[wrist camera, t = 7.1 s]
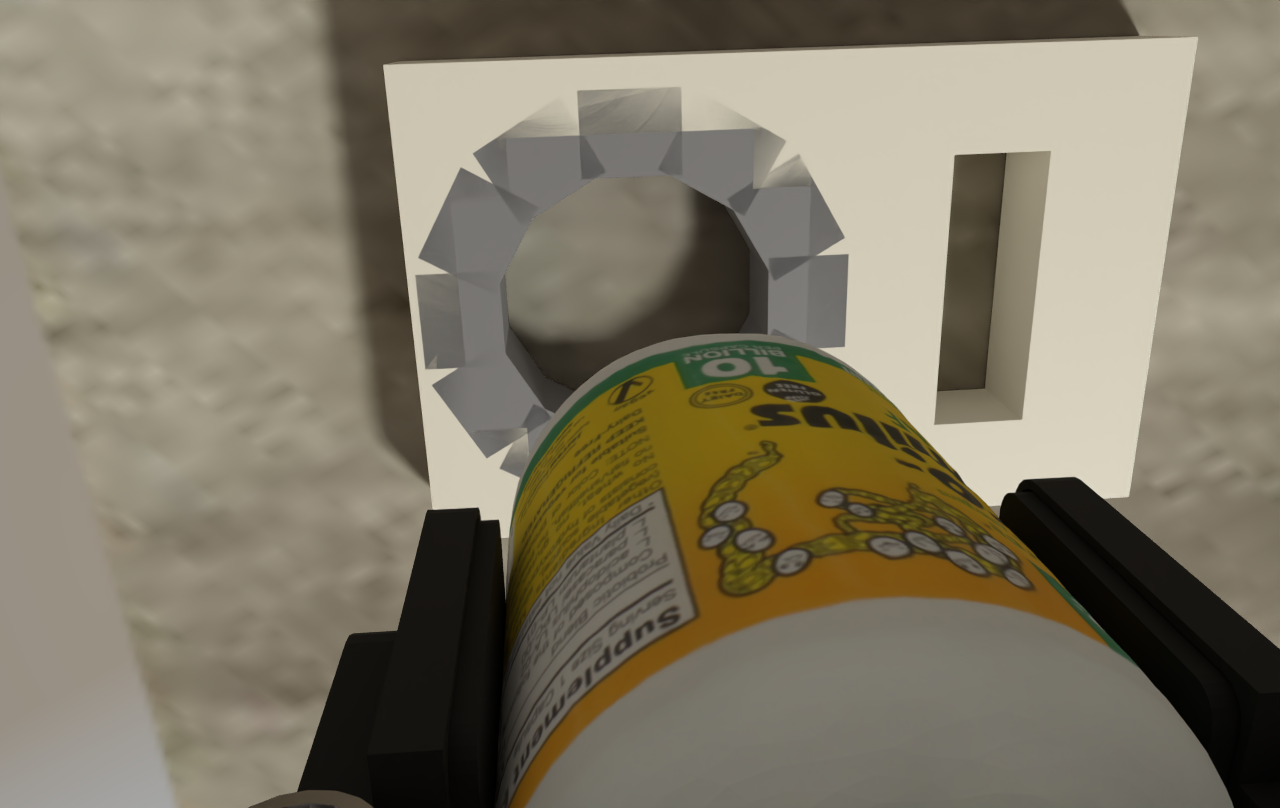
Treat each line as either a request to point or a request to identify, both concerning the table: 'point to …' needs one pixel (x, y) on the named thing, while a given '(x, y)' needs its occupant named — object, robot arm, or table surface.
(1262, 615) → the table surface
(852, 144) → the socket plate
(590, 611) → the supplement bottle
